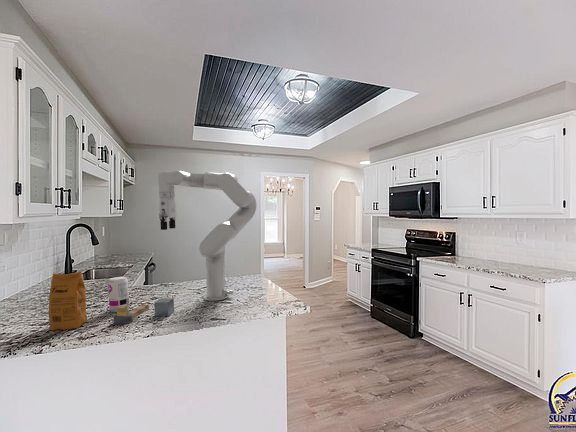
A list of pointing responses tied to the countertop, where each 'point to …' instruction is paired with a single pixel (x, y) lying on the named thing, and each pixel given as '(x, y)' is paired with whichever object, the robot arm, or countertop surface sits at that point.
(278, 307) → the countertop surface
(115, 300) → the supplement can
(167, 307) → the blue gray cube
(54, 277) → the coffee package
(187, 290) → the countertop surface
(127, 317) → the wooden handled hammer
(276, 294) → the countertop surface
